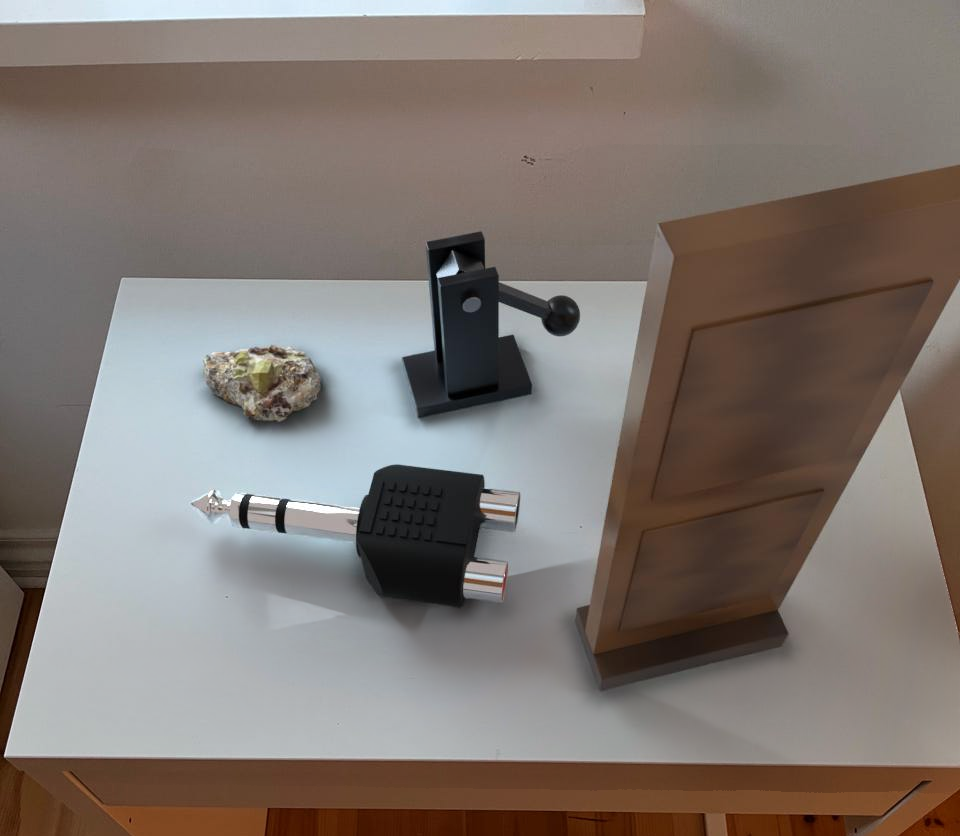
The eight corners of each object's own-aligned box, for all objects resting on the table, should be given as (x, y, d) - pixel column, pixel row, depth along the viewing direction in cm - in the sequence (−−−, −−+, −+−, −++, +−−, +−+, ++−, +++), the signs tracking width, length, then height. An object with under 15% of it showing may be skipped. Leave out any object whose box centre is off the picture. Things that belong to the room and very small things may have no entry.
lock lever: (557, 322, 79) (581, 293, 77) (568, 349, 77) (592, 320, 75) (431, 273, 71) (453, 240, 69) (441, 302, 70) (463, 269, 68)
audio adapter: (500, 588, 64) (156, 543, 66) (500, 625, 69) (179, 581, 71) (523, 464, 69) (202, 425, 71) (521, 506, 74) (220, 469, 76)
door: (750, 578, 70) (961, 128, 38) (782, 646, 68) (1036, 223, 36) (574, 620, 69) (640, 189, 37) (599, 691, 66) (693, 293, 34)
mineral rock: (336, 340, 79) (298, 388, 74) (341, 385, 82) (304, 434, 77) (222, 320, 81) (176, 365, 76) (230, 364, 84) (187, 411, 79)
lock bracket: (513, 344, 82) (515, 219, 70) (532, 394, 79) (537, 272, 68) (402, 366, 81) (387, 243, 69) (417, 418, 78) (404, 299, 67)
